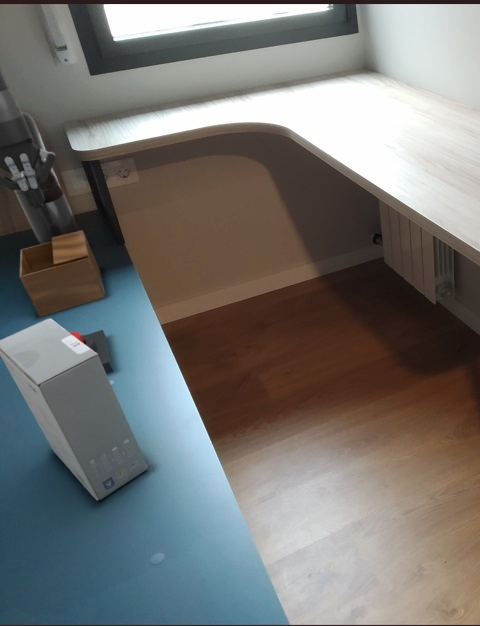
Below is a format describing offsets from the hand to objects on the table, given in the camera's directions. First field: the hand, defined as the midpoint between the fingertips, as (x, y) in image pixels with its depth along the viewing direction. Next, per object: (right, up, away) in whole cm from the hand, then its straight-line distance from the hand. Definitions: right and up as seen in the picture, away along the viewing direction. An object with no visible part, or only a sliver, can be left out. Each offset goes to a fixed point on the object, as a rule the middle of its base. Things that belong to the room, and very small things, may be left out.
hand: (38, 206), depth 121 cm
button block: (+14, -30, -11) cm, 35 cm away
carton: (-1, -16, +13) cm, 21 cm away
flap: (+1, -7, +9) cm, 11 cm away
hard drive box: (+28, -42, -32) cm, 60 cm away
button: (+14, -27, -13) cm, 33 cm away
